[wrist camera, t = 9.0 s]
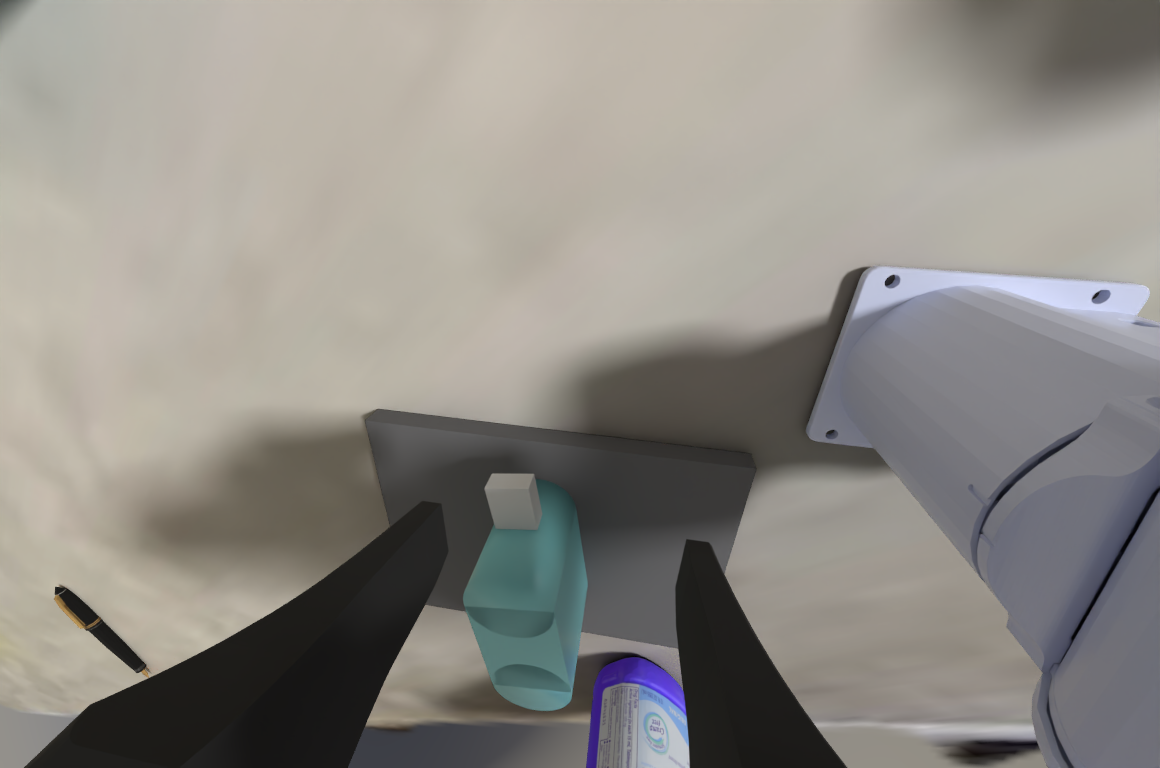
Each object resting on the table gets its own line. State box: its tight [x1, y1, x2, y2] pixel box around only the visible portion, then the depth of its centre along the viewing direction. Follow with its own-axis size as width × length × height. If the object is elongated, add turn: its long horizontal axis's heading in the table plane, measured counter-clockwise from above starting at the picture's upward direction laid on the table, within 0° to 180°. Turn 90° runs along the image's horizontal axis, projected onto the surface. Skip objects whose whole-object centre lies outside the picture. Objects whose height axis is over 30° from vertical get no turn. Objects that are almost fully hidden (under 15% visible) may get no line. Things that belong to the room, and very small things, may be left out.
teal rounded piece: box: [463, 474, 588, 711], centre depth 21 cm, size 4×12×6 cm, turn 6°
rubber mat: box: [365, 409, 756, 648], centre depth 25 cm, size 20×15×1 cm
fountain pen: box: [54, 587, 149, 678], centre depth 40 cm, size 14×1×2 cm, turn 9°
